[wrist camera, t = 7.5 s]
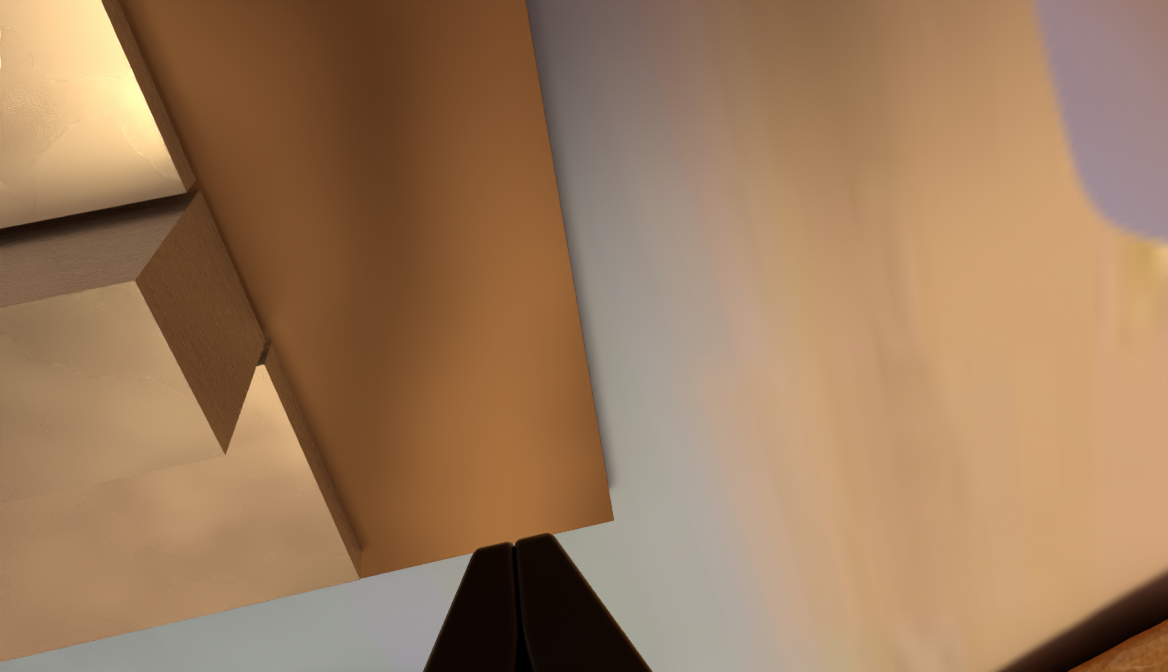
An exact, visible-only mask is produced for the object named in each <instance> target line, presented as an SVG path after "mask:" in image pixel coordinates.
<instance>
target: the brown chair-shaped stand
mask: <svg viewBox="0 0 1168 672" xmlns="http://www.w3.org/2000/svg"><path fill="white" fill-rule="evenodd" d="M1068 672H1168V619H1167V620H1165V621H1163V622H1161V623H1160V624H1158V625H1156V626H1154V627H1152V628H1150V629H1148V630H1146V631H1144V632H1142V633H1139V634H1137V635H1135V636H1133V637H1131V638H1129V639H1127V640H1126V641H1124V642H1122V643H1120V644H1119V645H1117V646H1115V647H1113V648H1112V649H1110V650H1108V651H1106V652H1104V653H1102V654H1100V655H1098V656H1096V657H1095V658H1093V659H1091V660H1089V661H1087V662H1085V663H1083V664H1081V665H1079V666H1077V667H1075V668H1073V669H1071V670H1070V671H1068Z"/></svg>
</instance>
